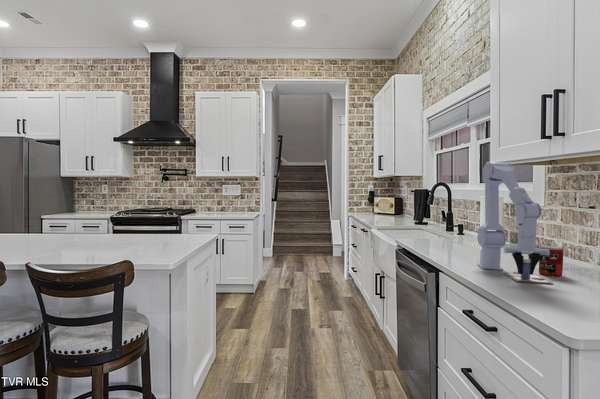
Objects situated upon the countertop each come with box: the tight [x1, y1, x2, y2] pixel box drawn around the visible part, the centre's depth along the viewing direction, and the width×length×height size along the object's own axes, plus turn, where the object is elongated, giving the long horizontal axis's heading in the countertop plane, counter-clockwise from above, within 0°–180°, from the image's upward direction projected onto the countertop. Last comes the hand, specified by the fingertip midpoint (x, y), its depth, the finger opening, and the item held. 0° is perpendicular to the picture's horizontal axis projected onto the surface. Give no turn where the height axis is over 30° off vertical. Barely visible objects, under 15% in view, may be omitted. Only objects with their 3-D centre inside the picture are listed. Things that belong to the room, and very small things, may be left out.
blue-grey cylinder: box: [521, 257, 531, 279], centre depth 142 cm, size 3×3×7 cm
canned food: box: [538, 244, 564, 278], centre depth 154 cm, size 8×8×11 cm
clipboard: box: [503, 271, 554, 285], centre depth 146 cm, size 14×12×1 cm
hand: (525, 273), depth 142 cm, fingers closed on blue-grey cylinder, 3 cm apart
